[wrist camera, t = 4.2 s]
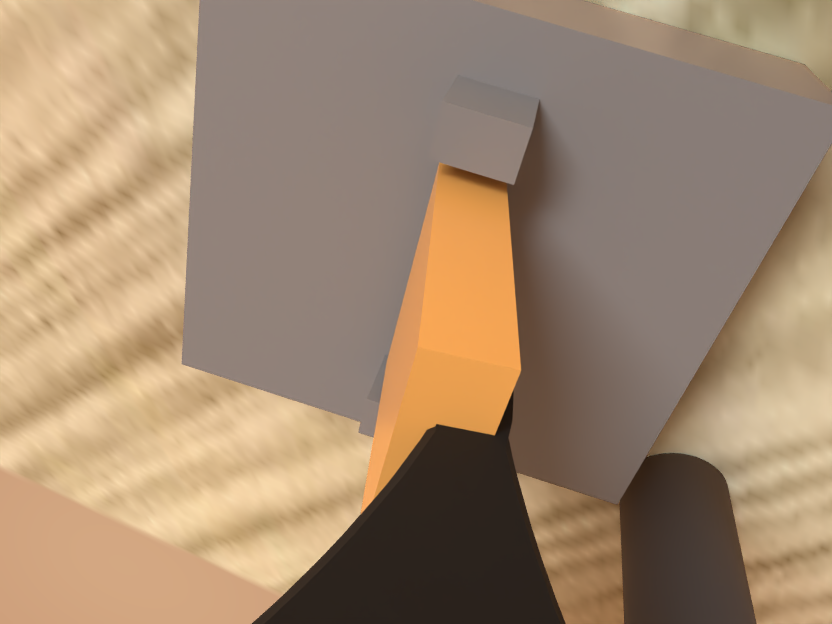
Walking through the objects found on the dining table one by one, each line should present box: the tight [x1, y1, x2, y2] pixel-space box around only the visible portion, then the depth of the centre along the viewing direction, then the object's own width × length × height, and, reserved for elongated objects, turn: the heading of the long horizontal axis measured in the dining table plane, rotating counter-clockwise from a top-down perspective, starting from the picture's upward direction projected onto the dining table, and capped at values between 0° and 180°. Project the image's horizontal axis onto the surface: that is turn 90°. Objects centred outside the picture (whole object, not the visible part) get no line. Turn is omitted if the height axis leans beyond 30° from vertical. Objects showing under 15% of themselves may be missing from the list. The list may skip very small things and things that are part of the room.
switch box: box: [182, 0, 832, 505], centre depth 12 cm, size 9×8×4 cm
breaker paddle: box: [361, 163, 521, 513], centre depth 10 cm, size 1×4×4 cm, turn 167°
